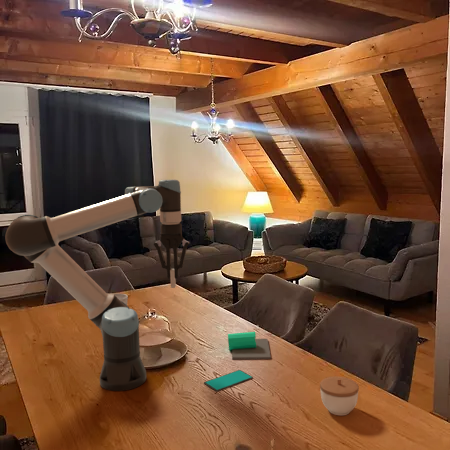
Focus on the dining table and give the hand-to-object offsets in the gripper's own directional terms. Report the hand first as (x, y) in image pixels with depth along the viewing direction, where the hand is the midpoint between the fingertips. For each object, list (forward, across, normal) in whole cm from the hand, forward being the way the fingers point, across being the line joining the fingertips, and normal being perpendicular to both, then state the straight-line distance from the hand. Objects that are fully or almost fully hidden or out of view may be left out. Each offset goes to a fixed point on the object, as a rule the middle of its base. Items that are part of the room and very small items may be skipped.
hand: (173, 286), depth 175 cm
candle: (+23, -19, -5) cm, 31 cm away
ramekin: (+27, +37, -56) cm, 72 cm away
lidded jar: (+27, -52, +40) cm, 71 cm away
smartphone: (+27, -20, +21) cm, 40 cm away
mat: (+26, -28, -5) cm, 39 cm away
